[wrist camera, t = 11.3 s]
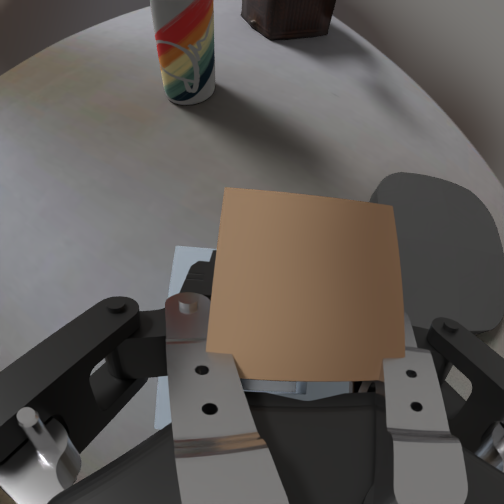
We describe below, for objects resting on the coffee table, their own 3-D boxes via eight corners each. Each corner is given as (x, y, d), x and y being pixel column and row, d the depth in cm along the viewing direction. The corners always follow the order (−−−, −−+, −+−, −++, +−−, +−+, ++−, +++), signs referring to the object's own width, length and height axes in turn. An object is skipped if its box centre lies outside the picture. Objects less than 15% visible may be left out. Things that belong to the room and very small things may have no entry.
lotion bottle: (172, 112, 31) (147, -67, 12) (160, 84, 32) (137, -71, 14) (222, 97, 32) (223, -77, 13) (206, 71, 34) (201, -81, 15)
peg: (223, 377, 15) (203, 374, 6) (230, 299, 16) (224, 187, 7) (304, 381, 15) (404, 378, 6) (307, 304, 16) (392, 205, 7)
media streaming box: (476, 205, 29) (491, 192, 26) (494, 336, 23) (514, 329, 21) (363, 179, 29) (374, 160, 26) (368, 334, 23) (385, 327, 21)
